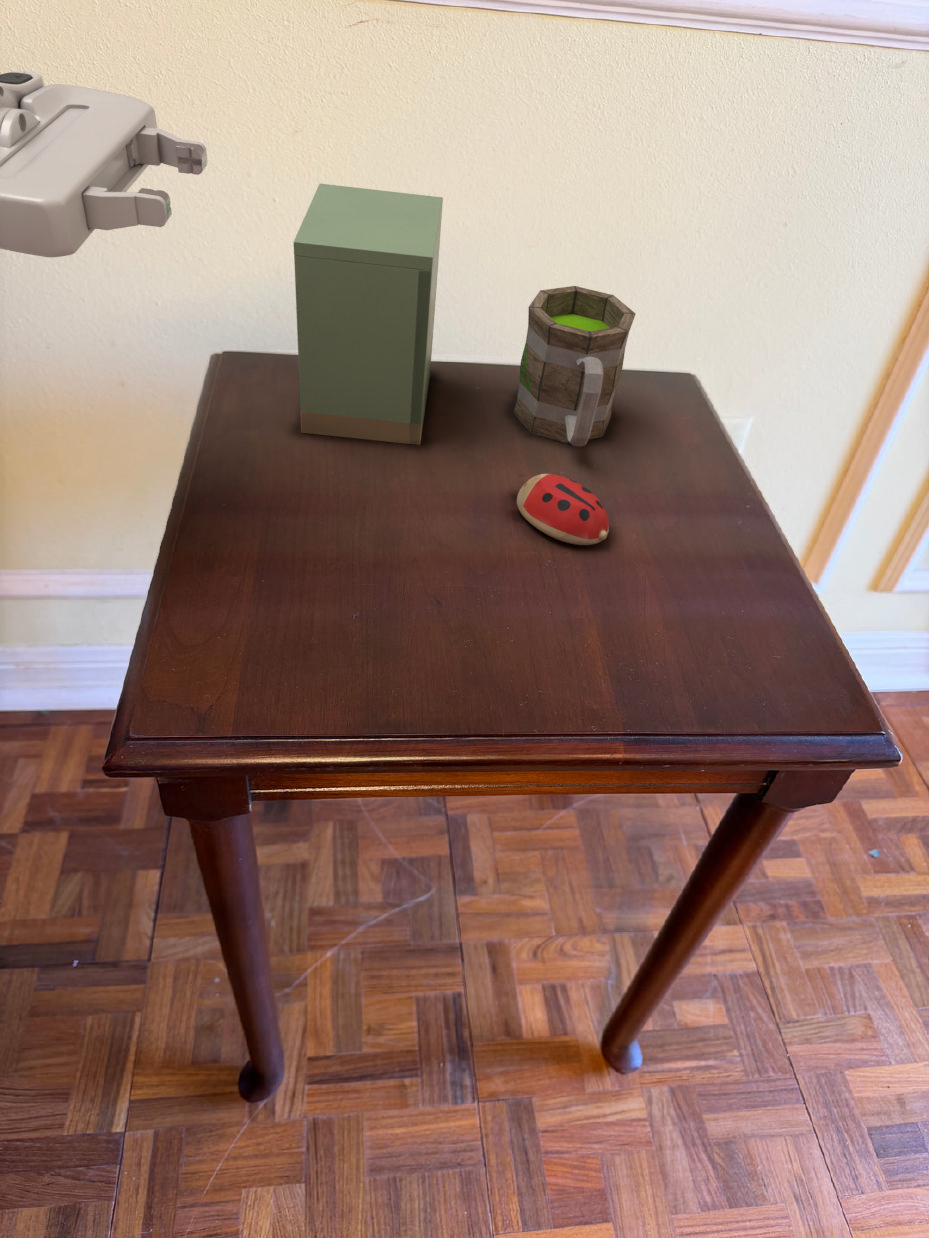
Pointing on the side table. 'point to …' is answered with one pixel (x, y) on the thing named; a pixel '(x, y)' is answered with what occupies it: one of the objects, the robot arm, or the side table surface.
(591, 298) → the mug
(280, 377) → the side table surface
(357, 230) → the cubby
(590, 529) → the ladybug figurine
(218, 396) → the side table surface
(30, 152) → the robot arm
